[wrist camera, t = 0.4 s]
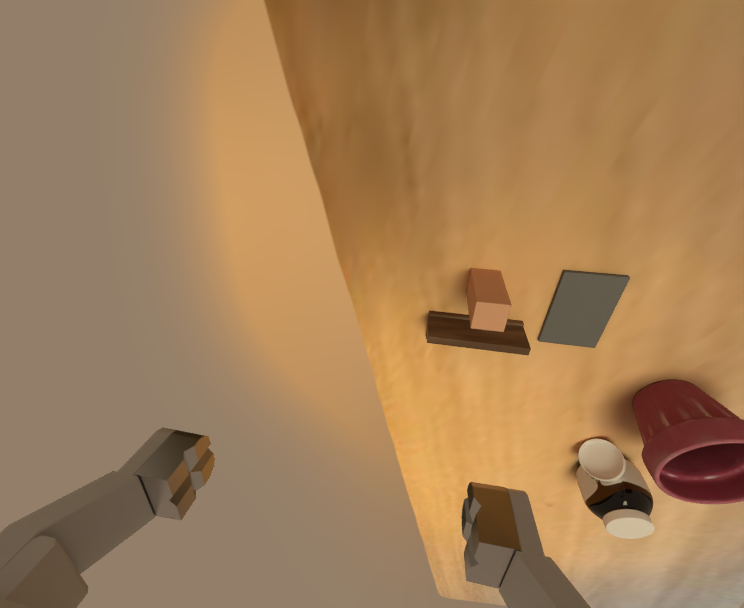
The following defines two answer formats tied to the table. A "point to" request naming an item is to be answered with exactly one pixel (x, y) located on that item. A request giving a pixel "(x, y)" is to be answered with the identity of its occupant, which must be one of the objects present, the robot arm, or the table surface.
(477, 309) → the terracotta block
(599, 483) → the spread jar
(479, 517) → the robot arm
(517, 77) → the table surface
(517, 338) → the brown wooden stand
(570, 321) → the charcoal mat
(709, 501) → the plant pot
